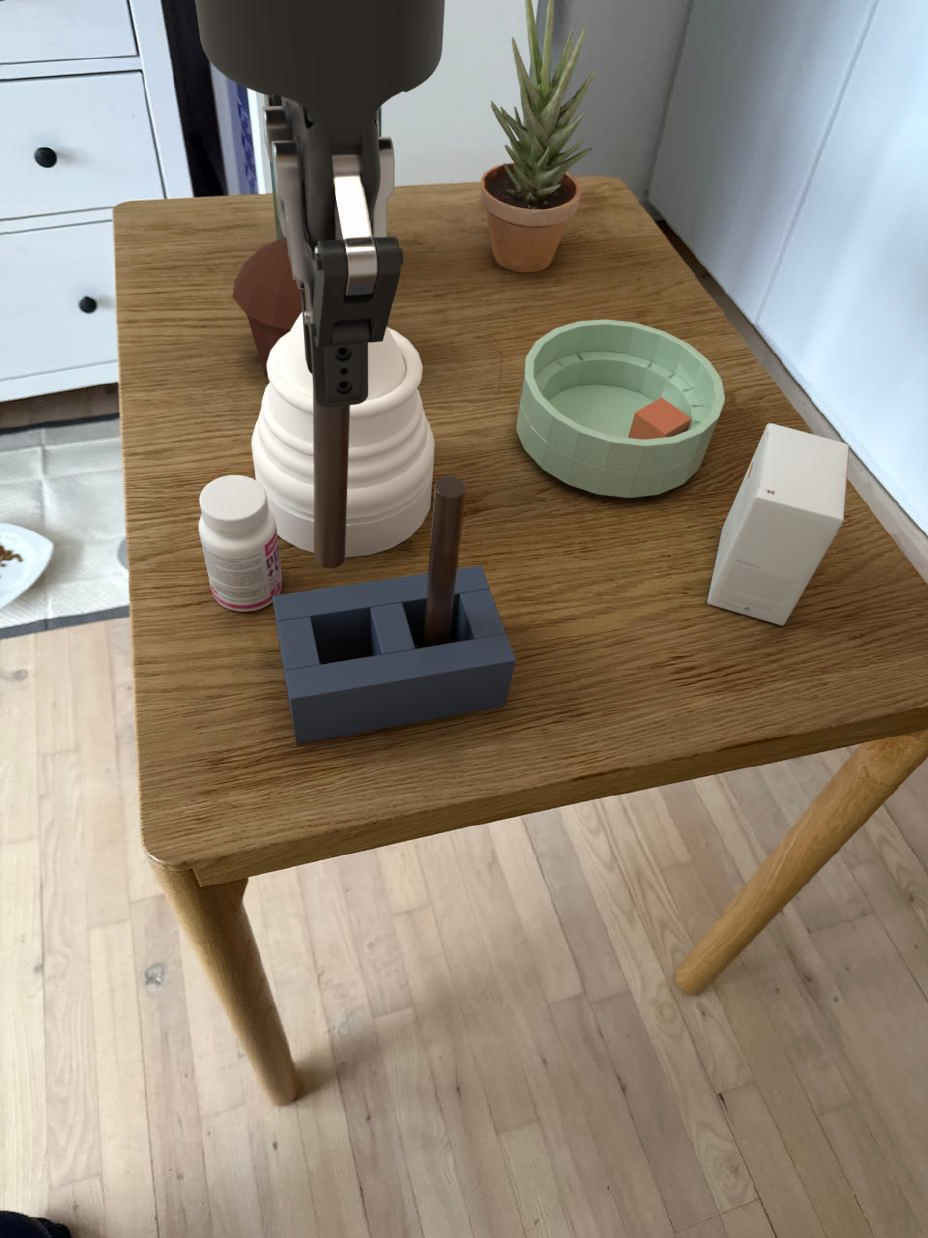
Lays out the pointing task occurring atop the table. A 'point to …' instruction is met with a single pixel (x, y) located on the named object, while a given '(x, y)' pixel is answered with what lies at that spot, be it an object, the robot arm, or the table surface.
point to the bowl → (615, 406)
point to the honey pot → (378, 447)
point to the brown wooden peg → (443, 559)
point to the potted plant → (536, 158)
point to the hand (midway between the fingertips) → (336, 383)
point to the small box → (780, 523)
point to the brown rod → (330, 482)
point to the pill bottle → (240, 543)
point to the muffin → (268, 296)
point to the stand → (389, 655)
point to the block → (659, 421)
